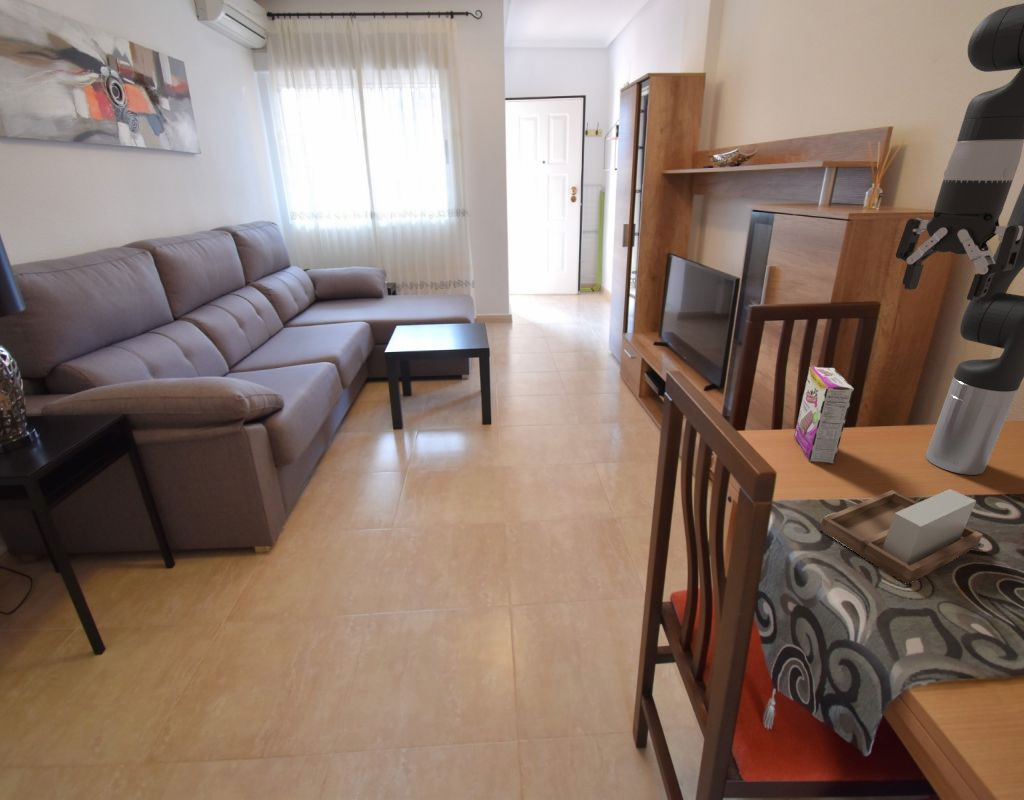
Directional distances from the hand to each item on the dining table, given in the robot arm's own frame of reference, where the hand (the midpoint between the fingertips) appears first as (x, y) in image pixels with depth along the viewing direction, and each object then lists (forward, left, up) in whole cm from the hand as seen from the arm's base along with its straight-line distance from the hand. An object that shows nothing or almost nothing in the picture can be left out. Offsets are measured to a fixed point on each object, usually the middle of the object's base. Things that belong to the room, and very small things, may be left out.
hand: (939, 294), depth 79 cm
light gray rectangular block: (+9, +12, -35) cm, 38 cm away
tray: (+9, +9, -36) cm, 38 cm away
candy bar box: (-5, -16, -36) cm, 40 cm away
